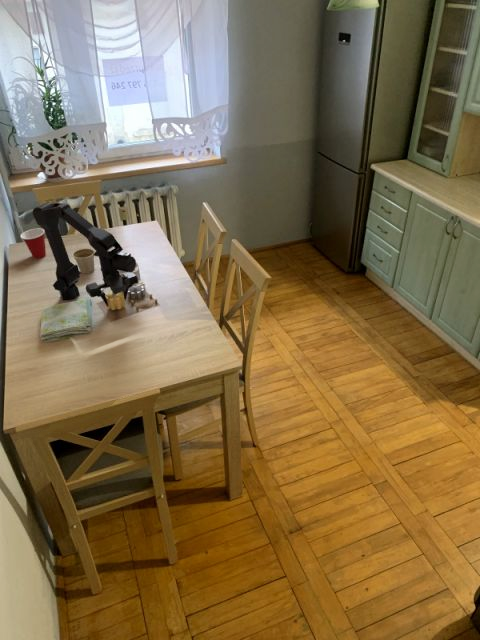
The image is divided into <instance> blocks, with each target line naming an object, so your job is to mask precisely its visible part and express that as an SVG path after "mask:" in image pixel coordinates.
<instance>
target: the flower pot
mask: <svg viewBox="0 0 480 640" xmlns="http://www.w3.org/2000/svg"><path fill="white" fill-rule="evenodd" d="M95 252H96V250H95V249H94V248H93V249H92V248H88V247H87V248H80V249H79V248H78V249H77V250H74V252H73V253H72V254H71V255H72V257H73V258H74V260H75V262H76V265H77V266H78V269H79V272H80V274H88V273H89V274H90V273H92V272H93V273H94V271H95V269H96V268H95V256H94V255H93V254H94V253H95Z"/></svg>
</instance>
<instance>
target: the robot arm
mask: <svg viewBox="0 0 480 640" xmlns="http://www.w3.org/2000/svg"><path fill="white" fill-rule="evenodd" d="M32 216H33V219H34V221H35V222H36V224H37V225H38V226H39V228H41V229H44V231H45V232H44V234H45V235H46V238H47V241H48V244H49V247H50V249H51V251H52V252H51V253H52V255H53V257H54V261H55V264H56V268H55V277H56V280H55V282H54V283H53V284H52V286H53V289H54V290H56V291H58V292H59V295H60V297H59V299H62V301H64V302H65V301H68V302H69V301H73V300H74V299H76V298H77V297H79V296H80V291H79V288H78V285H76V284H77V283H79V280H80V278H81V275H80V274H81V272H80V269H79V267H78V264H74V263H73V262H71V260H70V257H69V254H68V251H67V249H66V245H65V243H64V240H63V237H62V234H61V231H60V229H59V224H60V223H59V222H60V219H62V220H63V221H64V222H66V223H67V225H69V226H71V227H72V228H73V229H75V230H76V231H77V232H78V233H80V234H81V235H82V236H83V237H84V238H86V239H87V241H88V244H89V245H90V246H91V248H93V250H94V251H95V253H94V254H93V255H94V257H98V259H99V264H100V271H101V275H102V281H103V283H101V284H98V283H97V282H91V283H87V284H86V285H85V290H86V292H87V294H88V295H89V296H90V297H91V298H95V297H98V298H101V299H102V301H104V302H105V304H106V306H107V307H108V302H107V299H106V294H107V293H105V292H104V290H105V289H108V288H109V289H110V291H112V292H113V294H118V293H120V292H123V293H124V299H125V301H126V297H127V293H128V290H129V288H130V287H132V286H133V285H134V284H137V283H138V282H139V281H138V277H137V276H136V275H135V274H134V273H133V271H134V269H135V267H136V262H137V259H135V257H134V256H132V254H131V253H130V252H122V251H123V250H124V248H123V247H122V246H121V244H120V243H119V242H118V241H117V239H116V237H115V236H114V235H113V234H112V233H111V232H109V231H108V230H105V229H103V228H101V227H100V228H99V227H96V226H95V225H93V224H92V223H91V222H90V221H88V220H87V219H86V218H85V217H83V216H82V215H80V213H78V212H77V211H76V210H74V209H73V208H72V206H71V205H70V204H69V203H66V202H63V203H62V202H51V201H46V202H43V203H41V204H40V205H38V206H35V207H34V208H33V209H32ZM111 249H112V250H111ZM119 270H120V271H125V272H128V273H124V274H123V277H121V276H120V274H119Z"/></svg>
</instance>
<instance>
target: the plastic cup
mask: <svg viewBox="0 0 480 640" xmlns="http://www.w3.org/2000/svg"><path fill="white" fill-rule="evenodd" d="M19 238H21V239H22V240H23V241H24V243H25V245H26V246H27V249H28V251H29V252H30V254H31V256H32V258H33V259H36V260H37V259H42V258H44V257H46V255H47V253H46V251H47V250H46V242H45V241H46V239H45V231H44V229H43V228H41V227H37V228H32V229H28V230H26V231H24V232H22V233H21V234H20V237H19Z"/></svg>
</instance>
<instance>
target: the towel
mask: <svg viewBox="0 0 480 640" xmlns="http://www.w3.org/2000/svg"><path fill="white" fill-rule="evenodd" d="M41 315H42V316H41V321H40V331H39V338H40V339H41V342H43V343H48V342H55V341H59V340H63V339H64V340H65V339H70V338H73V337H74V336H73V335H83V334H91V332H92V327H93V303H92V300H91V298H90V297H89V298H83V299H78V300H74V301H73V300H72V301H68V302H63V303H58V304H52V305H49V306H45V307H43V308H42V314H41Z"/></svg>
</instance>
